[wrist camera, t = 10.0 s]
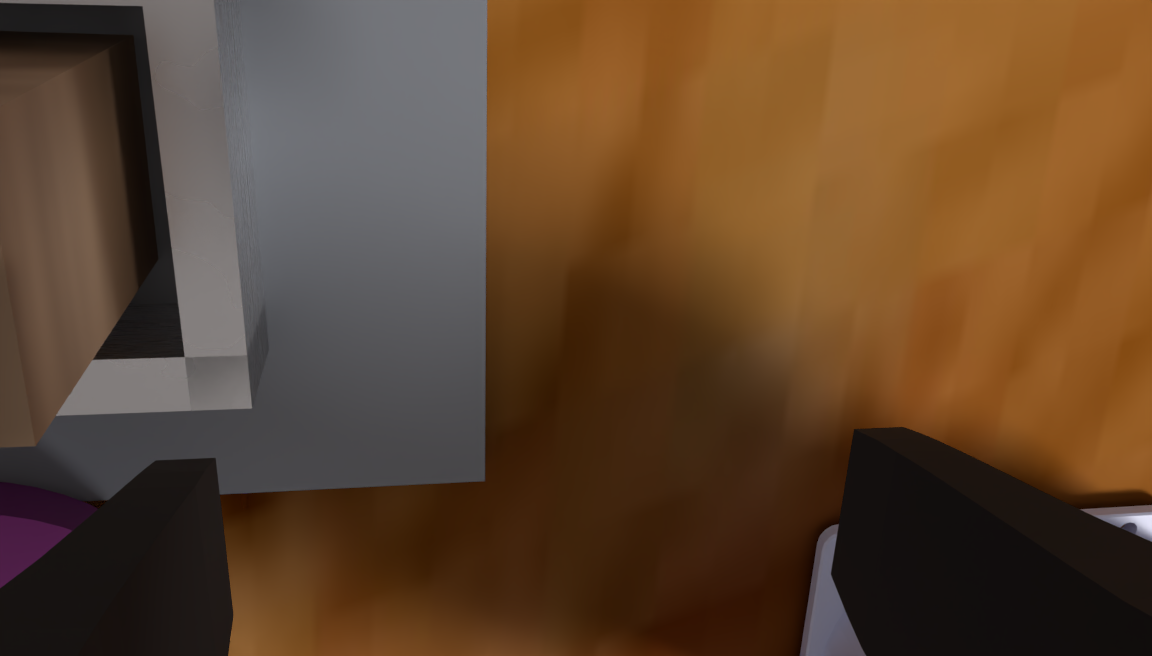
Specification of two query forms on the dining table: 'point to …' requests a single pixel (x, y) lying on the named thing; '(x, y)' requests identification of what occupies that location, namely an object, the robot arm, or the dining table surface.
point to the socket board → (291, 249)
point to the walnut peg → (66, 214)
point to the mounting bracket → (34, 524)
